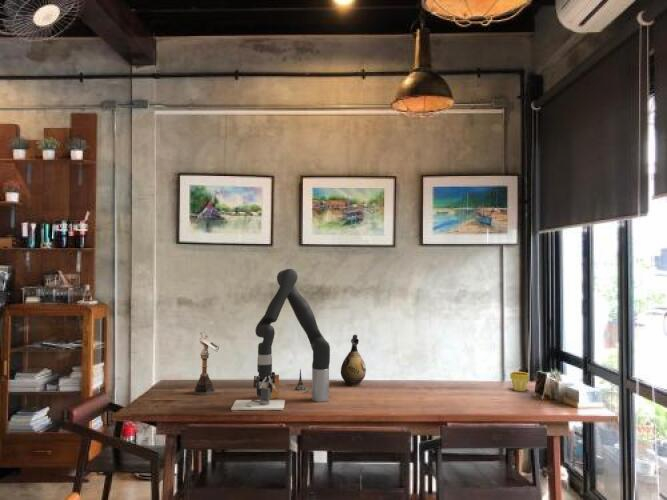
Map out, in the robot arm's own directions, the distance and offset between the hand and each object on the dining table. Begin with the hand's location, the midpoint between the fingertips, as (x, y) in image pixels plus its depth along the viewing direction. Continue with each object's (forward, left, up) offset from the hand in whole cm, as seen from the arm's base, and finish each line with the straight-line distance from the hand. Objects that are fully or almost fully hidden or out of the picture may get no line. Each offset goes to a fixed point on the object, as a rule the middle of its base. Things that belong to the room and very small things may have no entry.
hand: (264, 394), depth 290 cm
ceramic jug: (-49, -51, -7) cm, 71 cm away
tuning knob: (+2, -2, -5) cm, 6 cm away
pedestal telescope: (+35, -31, -7) cm, 47 cm away
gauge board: (+3, 0, -7) cm, 7 cm away
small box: (-1, -19, -7) cm, 20 cm away
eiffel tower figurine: (-18, -37, -8) cm, 41 cm away
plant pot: (-146, -35, -7) cm, 150 cm away
